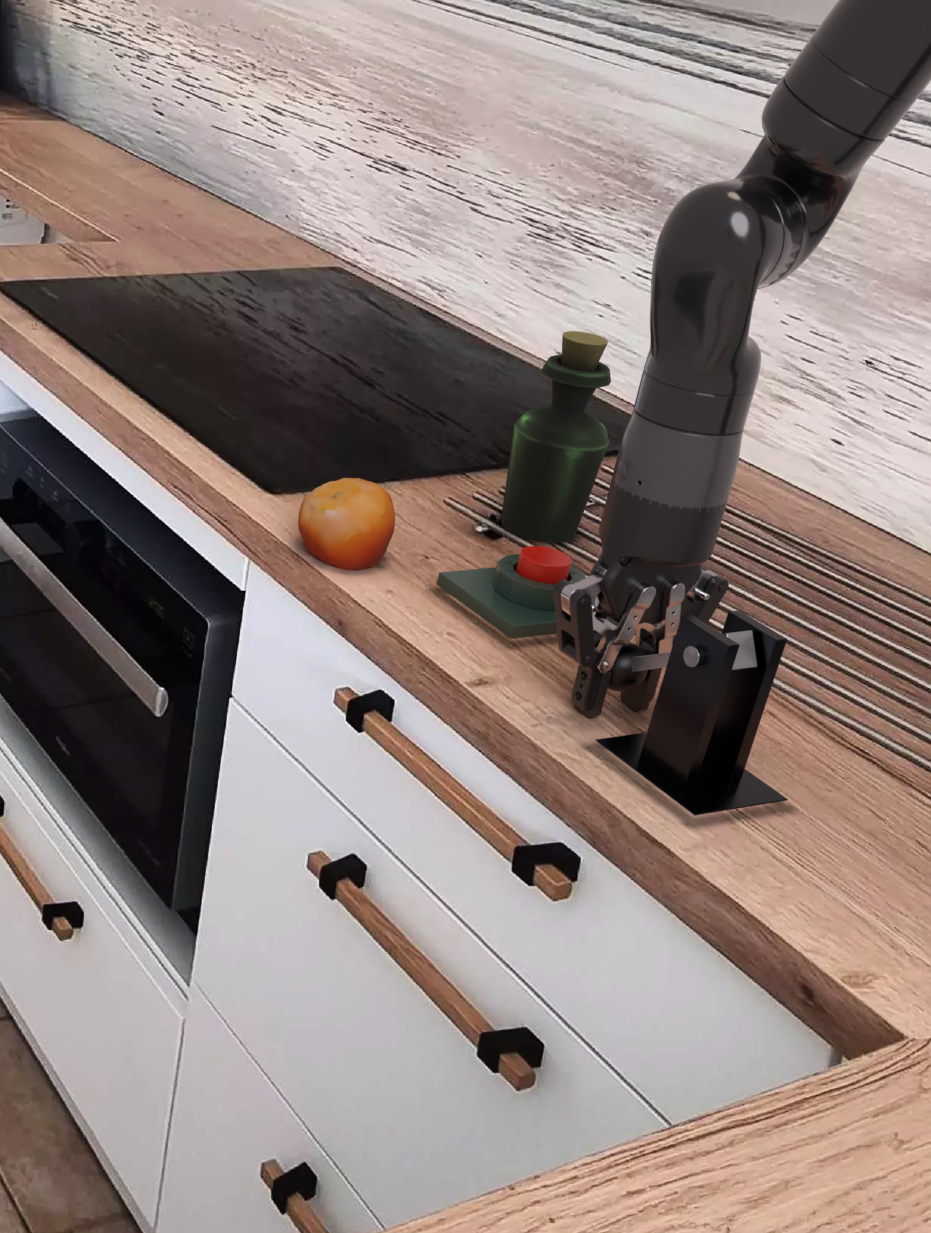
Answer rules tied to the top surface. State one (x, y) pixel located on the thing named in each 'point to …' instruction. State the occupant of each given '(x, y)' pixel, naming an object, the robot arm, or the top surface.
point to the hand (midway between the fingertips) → (609, 708)
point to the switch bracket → (707, 718)
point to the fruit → (347, 523)
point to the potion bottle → (558, 447)
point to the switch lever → (636, 664)
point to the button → (543, 564)
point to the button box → (508, 597)
